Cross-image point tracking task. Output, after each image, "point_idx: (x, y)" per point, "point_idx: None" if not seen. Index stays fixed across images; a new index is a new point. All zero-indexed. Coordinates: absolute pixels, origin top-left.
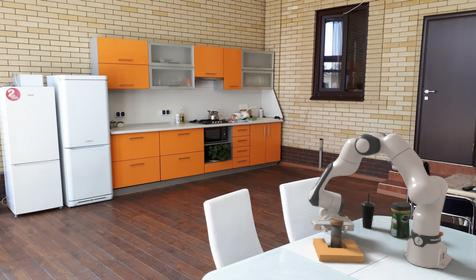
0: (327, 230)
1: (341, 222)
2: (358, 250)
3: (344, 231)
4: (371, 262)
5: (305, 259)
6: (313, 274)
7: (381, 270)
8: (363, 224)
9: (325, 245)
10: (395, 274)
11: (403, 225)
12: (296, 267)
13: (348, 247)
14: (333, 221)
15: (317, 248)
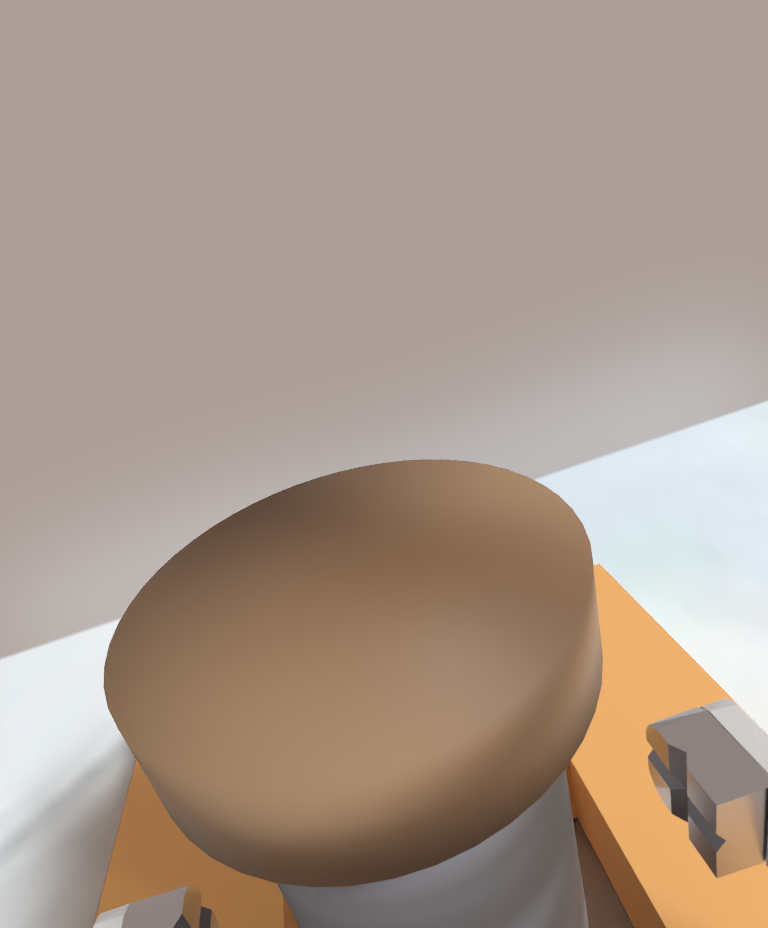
0: (654, 736)
1: (240, 515)
2: (143, 834)
3: (207, 913)
4: (97, 781)
5: (747, 594)
6: (563, 476)
7: (99, 670)
8: None
9: (652, 834)
10: (35, 655)
11: None
12: (716, 486)
13: (259, 901)
14: (446, 474)
15: (706, 678)
